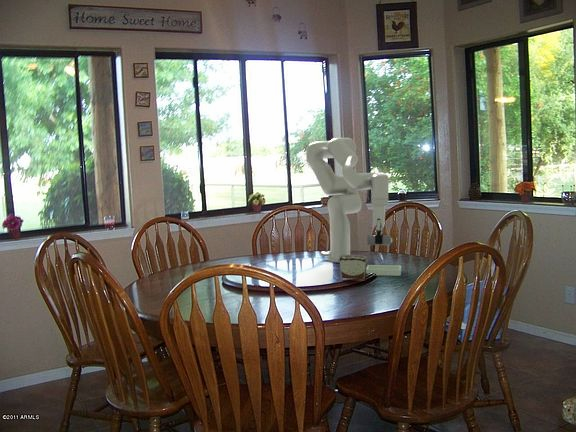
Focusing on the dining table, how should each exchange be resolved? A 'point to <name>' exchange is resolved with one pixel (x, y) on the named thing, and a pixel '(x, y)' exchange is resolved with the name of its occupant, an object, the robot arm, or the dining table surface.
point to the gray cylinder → (385, 241)
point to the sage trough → (384, 269)
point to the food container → (353, 266)
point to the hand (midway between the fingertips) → (379, 242)
